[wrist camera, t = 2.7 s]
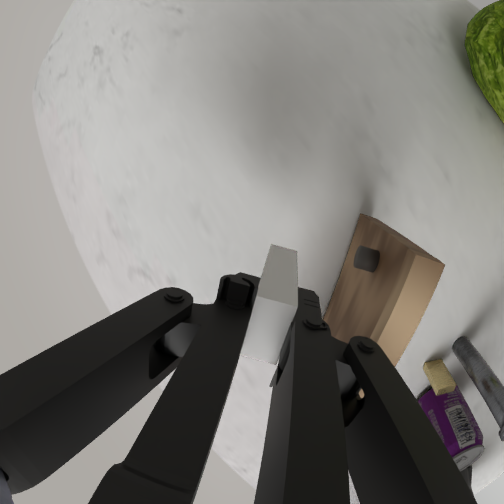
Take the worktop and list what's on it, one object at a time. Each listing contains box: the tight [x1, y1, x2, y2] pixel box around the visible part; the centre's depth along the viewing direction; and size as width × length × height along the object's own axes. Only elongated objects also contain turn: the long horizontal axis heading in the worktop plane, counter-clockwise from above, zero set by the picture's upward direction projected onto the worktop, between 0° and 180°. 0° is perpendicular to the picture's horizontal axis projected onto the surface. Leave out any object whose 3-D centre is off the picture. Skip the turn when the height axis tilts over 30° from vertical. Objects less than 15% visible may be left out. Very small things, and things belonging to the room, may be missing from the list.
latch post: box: [452, 336, 504, 441], centre depth 18 cm, size 3×3×15 cm
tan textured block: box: [423, 359, 456, 396], centre depth 24 cm, size 1×2×5 cm, turn 96°
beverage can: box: [418, 385, 484, 471], centre depth 22 cm, size 7×7×12 cm
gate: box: [323, 214, 445, 398], centre depth 19 cm, size 15×3×12 cm, turn 167°
